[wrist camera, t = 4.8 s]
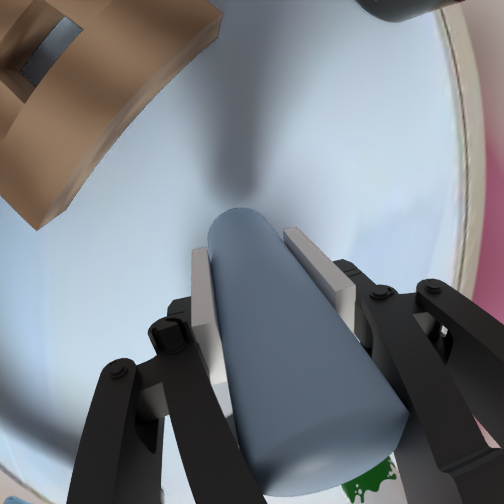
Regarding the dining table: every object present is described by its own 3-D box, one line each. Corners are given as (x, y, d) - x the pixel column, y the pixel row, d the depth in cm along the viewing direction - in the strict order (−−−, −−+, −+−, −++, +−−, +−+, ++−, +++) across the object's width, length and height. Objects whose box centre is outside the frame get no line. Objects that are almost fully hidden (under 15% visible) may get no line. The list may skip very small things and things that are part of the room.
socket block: (65, 210, 20) (36, 231, 15) (-42, 98, 14) (-76, 100, 9) (217, 37, 17) (222, 13, 13) (81, -54, 11) (62, -81, 6)
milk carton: (331, 467, 43) (366, 555, 24) (331, 447, 39) (374, 550, 21) (375, 450, 43) (416, 532, 25) (381, 428, 39) (432, 521, 21)
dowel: (240, 279, 20) (314, 501, 6) (194, 241, 19) (206, 482, 5) (283, 236, 20) (429, 425, 6) (239, 194, 18) (365, 380, 4)
